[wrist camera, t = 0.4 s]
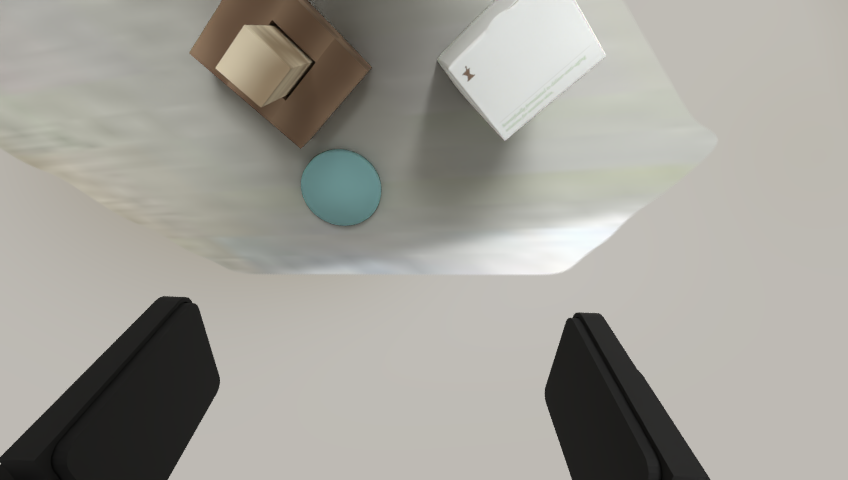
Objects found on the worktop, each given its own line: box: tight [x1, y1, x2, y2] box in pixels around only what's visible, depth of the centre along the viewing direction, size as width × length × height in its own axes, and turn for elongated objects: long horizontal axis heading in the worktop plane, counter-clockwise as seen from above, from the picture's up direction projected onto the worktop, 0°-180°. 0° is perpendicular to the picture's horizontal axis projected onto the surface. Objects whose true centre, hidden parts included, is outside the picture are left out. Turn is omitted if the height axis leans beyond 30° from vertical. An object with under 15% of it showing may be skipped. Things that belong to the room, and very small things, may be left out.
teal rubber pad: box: [301, 149, 381, 226], centre depth 43 cm, size 9×9×1 cm
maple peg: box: [216, 25, 316, 107], centre depth 32 cm, size 4×4×10 cm
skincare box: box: [437, 0, 606, 141], centre depth 30 cm, size 8×7×16 cm
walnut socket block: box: [189, 0, 372, 148], centre depth 35 cm, size 12×10×4 cm
